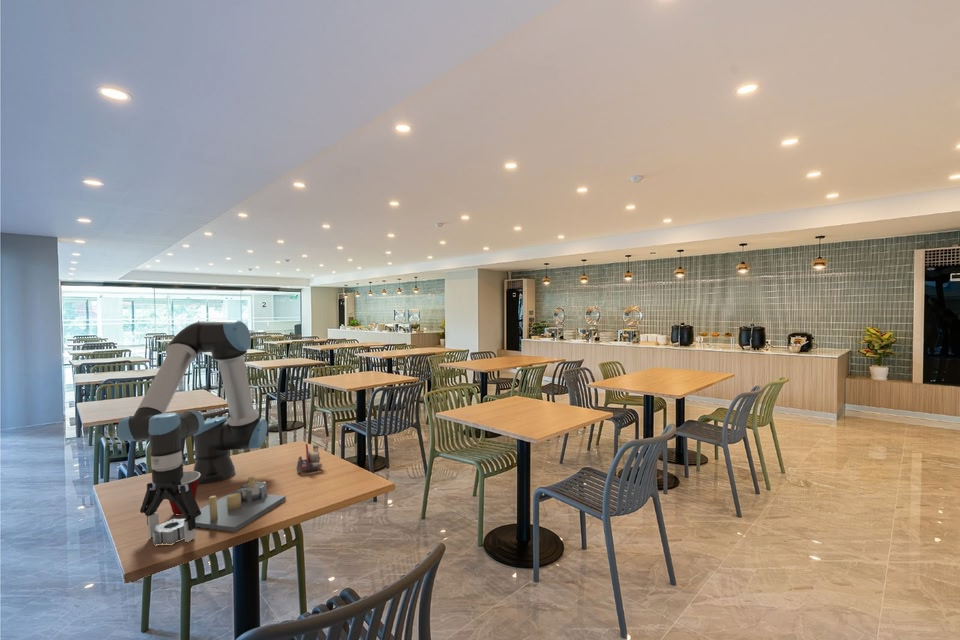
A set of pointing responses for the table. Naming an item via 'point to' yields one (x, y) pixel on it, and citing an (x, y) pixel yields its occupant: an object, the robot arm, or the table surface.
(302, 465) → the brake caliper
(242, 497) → the seated gear
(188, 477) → the plastic cup
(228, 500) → the plate
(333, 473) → the table surface
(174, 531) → the planet gear
